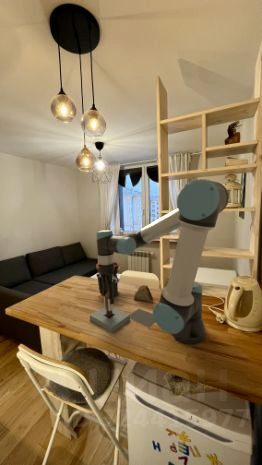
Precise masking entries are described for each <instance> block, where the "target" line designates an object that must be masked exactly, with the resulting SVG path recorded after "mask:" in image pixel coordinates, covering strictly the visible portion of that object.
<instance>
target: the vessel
mask: <svg viewBox="0 0 262 465" xmlns="http://www.w3.org/2000/svg"><path fill="white" fill-rule="evenodd" d="M98 264H99V263H98V262H97V264H96V265H95V269H96V271H97V274H99V273H100V272H99V267H98ZM119 267H120V266H119V263H118V262H116V261H114V268H115V269H114V272H113V273H114V277H115V278H118V273H119V271H118V269H119ZM118 283H119V282H118ZM118 283H117V296H119V295H120V292H119V288H118V285H119V284H118ZM107 292H108V287H107ZM98 296H99V297H100V298H101V299H103V295H102V293H100V292H99V294H98Z"/></svg>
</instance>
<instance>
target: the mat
mask: <svg viewBox="0 0 262 465" xmlns="http://www.w3.org/2000/svg"><path fill="white" fill-rule="evenodd" d="M129 315H130V320H132V321H134V322H137V323H139V324H141V325H143V326H145V327H147V328H150V327H152V326H153V325H154V324H155V323H156V322H155V320H154V318H153V313H150V312H148V311H147V310H144V309H141V308H138V309H136V310H135V311H133V312H131V313H129Z"/></svg>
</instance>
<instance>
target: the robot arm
mask: <svg viewBox="0 0 262 465" xmlns="http://www.w3.org/2000/svg"><path fill="white" fill-rule="evenodd" d="M229 200H230V194H229V191H228V189H227V188H226V187H225V185H223V184H222V183H221V182H218V181H213V180H209V179H202V178H201V179H199V178H198V179H194V180H191V181H188V182H187V183H186V184H184V185H183V186H182V187H181V189H180V190H179V191H178V194H177V197H176V207H177V208H176V209H173V210H171V211H170V212H169V213H166V214H164V215H163V216H162V217H160V218H158V219H156V220H154V221H153V222H151V223H150V224H147V225H146V226H145V227H143V228H141V229H139V230H138V231H136V232H133V233H129V234H125V235H124V234H123V235H114V234H113V233H114V232H113V230H110V229H101V230H98V231H96V248H97V249H96V250H97V264H98V263H99V264H98V267H99V272H100V273H96V278H97V282H98V283H97V285H98V291H99V292H98V293H99V294H100V293H102V295H103V298H102V301H103V307H104V309H106V300H105V293H106V292H107V287H108V293H109V298H108V308H109V311H111V310H113V309H114V308H115V307H114V304H115V298H117V296H118V295H117V283H119V278H118V277H117V278H115V277H114V273H113V272H114V269H115V268H114V262H115V257H114V256H115V254H120V255H125V256H126V255H129V256H130V255H132V254H134V252H135V251H136V250H137V249H140V248H144V247H146V246H147V245H149V244H150V243H152V242H154V241H156V240H158V239H160V238H162V237H164V236H166V235H169V234H170V233H172V232H174V231H176V230H178V229H180V230H179V235H178V239H177V243H176V248H175V252H174V256H173V259H172V264H171V269H170V273H169V278H168V282H167V285H166V286H164V287H162V289H161V293H160V298H159V301H158V303H156V304H155V305H154V307H152V308H153V309H152V314H153V318H154V320H155V323H156V325H157V326H158V327H159V329H161V330H162V331H164V332H165V333H167V334H171V336H172V337H173V338H174V339H175V341H178V342H180V343H183V344H188V345H197V344H199V343H202V342H203V341H205V339H206V337H207V329H206V326H205V323H204V320H203V315H202V314H203V311H202V310H203V287H202V285H201V284H200V283H198V282H196V277H197V275H198V274H197V273H198V270H199V266H200V262H201V258H202V255H203V252H204V248H205V245H206V240H207V237H208V235H209V232H210V231H211V230H213V229H215V227H216V225H217V224H216V223H217V220H218V217H219V214H220V213H222V212H223V211H224V210H225V209H226V208H227V206H228V204H229Z"/></svg>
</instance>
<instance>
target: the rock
mask: <svg viewBox="0 0 262 465" xmlns="http://www.w3.org/2000/svg"><path fill="white" fill-rule="evenodd" d="M152 294H153V293H152V292H151V290H150V288H149V287H148V285H146V284H143V285H140V286H139V288H138V289H137V291H135V292H134V296H133V300H134V301H148V302H149V301H151V300H152V299H153V296H152Z"/></svg>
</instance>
